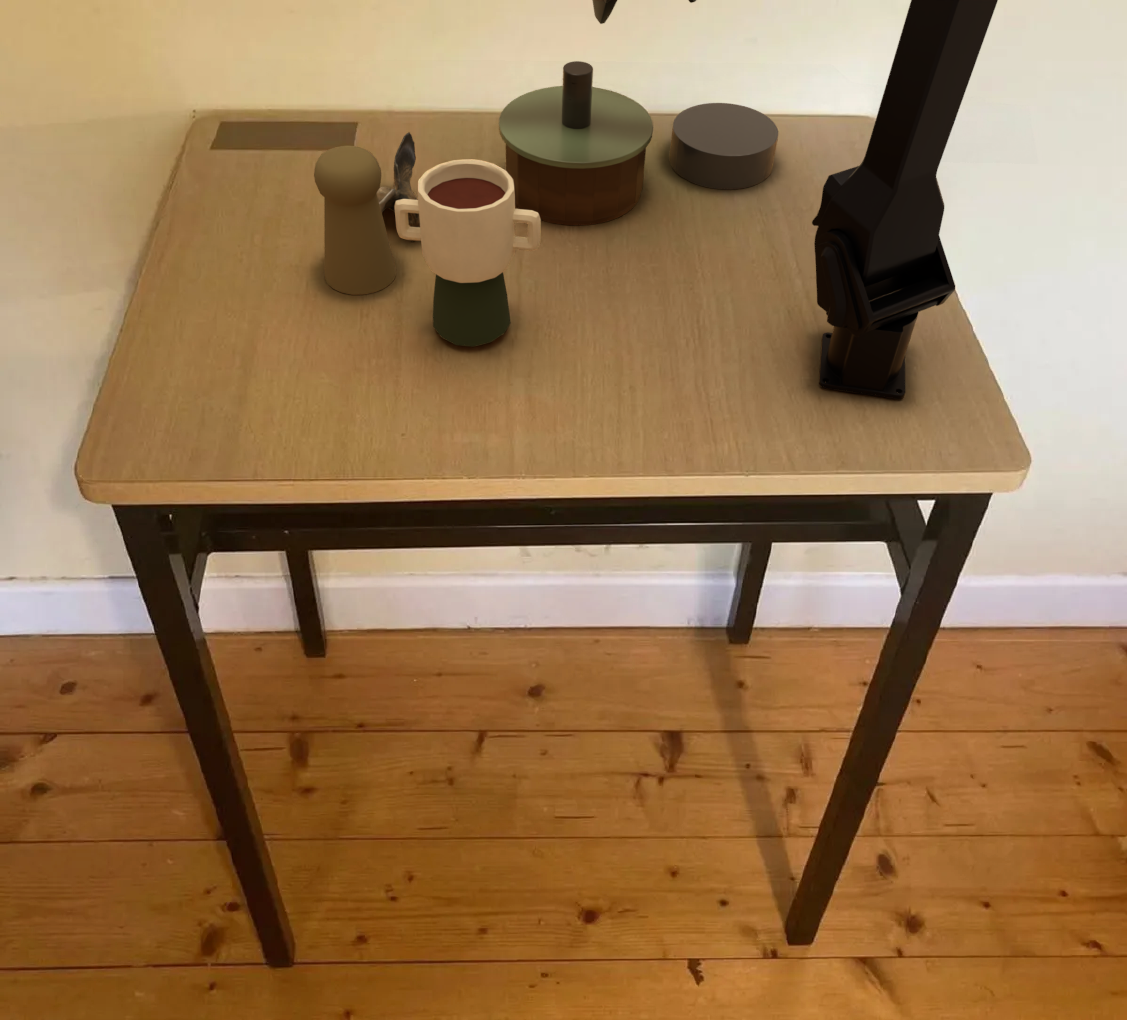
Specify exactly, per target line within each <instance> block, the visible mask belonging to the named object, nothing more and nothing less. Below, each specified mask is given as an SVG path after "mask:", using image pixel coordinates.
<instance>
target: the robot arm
mask: <svg viewBox="0 0 1127 1020" xmlns="http://www.w3.org/2000/svg"><path fill="white" fill-rule="evenodd" d="M998 1H999V0H910V4H909V6H908V10H907V13H906V16H905V19H904V24H903V26H902V30H901V33H900V36H899V39H898V43H897V46H896V50H895V54H894V57H893V60H892V64H891V67H890V70H889V74H888V77H887V79H886V84H885V87H884V91H883V94H882V97H881V100H880V104H879V106H878V111H877V115H876V118H875V121H874V124H873V128H872V130H871V134H870V138H869V141H868V144H867V148H866V151H865V155H864V157H863V159H862V161H861V162H860V164H859V165H857V166H854V167H851V168H850V167H849V168H848V169H845V170H842V171H838V172H835V173H832V174H830V175H828V177H827V179H826V181H824V185H823V186H822V193H821V201H820V206H819V210H818V211H817V214H816V216H814V218H813V219H812V221H811V225H813V226H814V227H817V229H816V232H815V236H814V242H813V243H814V256H815V257H814V259H815V260H814V261H815V282H816V283H815V284H816V285H815V286H816V303H817V305H818V307H820V308H821V309H822V310H823V311H824V312H825V314H826V317H827V318H826V323H828V324H829V325H830V326H831V327H833V329H832V332H824V333H822V337H821V340H820V341H821V345H820V357H819V358H820V359H819V371H818V386H819V387H821V388H823V389H826V390H827V389H828V390H834V391H841V392H848V393H854V394H861V395H866V396H874V397H880V398H888V399H892V400H893V399H894V400H902V399H904V398H905V395H906V353H907V350H908V347H909V344H910V341H911V338H912V335H913V331H914V329H915V325H916V322H917V319H918V316H919V312H922V311H925V310H927V309H929V308H932V307H935V306H936V307H939V306H941V305H943V304H945V302H946V301H947V300H948V299H949V298H950V296H951V295H953V293H954V292H955V290H956V284H955V280H954V277H953V274H952V271H951V268H950V264H949V261H948V259H947V256H946V253H945V250H944V246H943V243H942V240H941V237H940V232H941V227H942V222H943V218H944V212H945V202H944V199H943V196H942V192H941V188H940V185H939V181H938V177H937V173H938V169H939V167H940V164H941V161H942V158H943V155H944V152H945V150H946V147H947V144H948V142H949V139H950V135H951V133H952V130H953V127H954V124H955V121H956V120H957V117H958V113H959V111H960V108H961V105H962V103H963V99H964V96H965V93H966V90H967V88H968V85H969V81H970V79H971V77H972V74H973V71H974V68H975V66H976V63H977V60H978V57H979V54H980V51H981V49H982V46H983V44H984V40H985V38H986V35H987V31H988V29H989V27H990V24H991V21H992V18H993V15H994V13H995V10H996V7H997V4H998ZM617 2H618V0H592V6H593V13H594V18H595V19H596V20H597V21H598V23H599V24H600V25H603V24H605V23H606V22H607V20H608V19H609V17H610V16H611V14H612V12H613V10H614V9H615V6H616V4H617ZM688 2H689V3H690V4H692V3H695V2H697V0H688Z"/></svg>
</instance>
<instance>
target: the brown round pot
mask: <svg viewBox="0 0 1127 1020" xmlns="http://www.w3.org/2000/svg"><path fill="white" fill-rule="evenodd" d="M504 144H505V170H506V171H507V173H508V174H509V175H510V176H511V177H512V179H513V183H514V191H515V208H517V209H523V210H533V211H535V212H538V214H539V216H540V219H541V221H543V222H547V223H550V224H556V225H563V226H591V225H597V224H602V223H606V222H607V223H608V222H610V221H613V220H615V219H619V218H621V217H622V216H624V215H625V214H627V213H629V212H630V211H632V209H633V208H634V207H635V206H636V205H637V203H638V202H639V200H640V198H641V194H642V191H643V187H644V176H645V175H644V174H645V165H646V153H647V147H646V148H645V149H644V150H643V151H642V152H640V153H639V154H638V155H636V156H634V157H632V158H630V159H629V160H626V161H623V162H621V163H617V164H614V165H610V166H605V167H598V168H584V169H577V168H562V167H555V166H550V165H546V164H542V163H538V162H535V161H532V160H530V159H528V158H525V157H523V156H521V155H520V154H518V153H516V152H515V151H513V150H512V149H511V148H510V147H509V146H508V145H507V144H506V143H505V142H504Z"/></svg>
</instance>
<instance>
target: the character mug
mask: <svg viewBox="0 0 1127 1020" xmlns="http://www.w3.org/2000/svg"><path fill="white" fill-rule="evenodd" d="M417 199H418V200H412V199H401V200H397V201H396V202H395V206H394V207H395V212H394V215H395V218H394V219H395V227H396V232H397V234H398V237H399V238H401V239H404V240H407V241H410V240H414V241H419V242H420V243H421V244H420V245H421V254H422V258H423V259H424V262H425V264H426V265H427V266H428V268H429V270H430V271H431V272H432V273H433V274H434V275H435V278H434V279H435V280H434V289H433V291H434V292H433V297H432V298H433V302H432V327H433V328H434V329H435V331H436V332H437V334H438V335H439V336H440V338H442V339H443V340H446V341H447V342H449V343H451V344H453V345H455V346H463V347H472V348H473V347H478V346H482V345H486V344H489V343H492V342H494V341H495V340H496V339H498V338H499V337H501V336H503V335H504V334H505V333H506V331H507V329H509V327H510V325H511V323H512V321H511V315H510V306H509V298H508V291H507V287H506V281H505V276H504V275H505V274H504V272H505V271H507V270H508V267H509V266H510V263H511V262H512V260H513V257H514V256H515V254H516V250H517V251H528V252H533V251H536V250H539V248H540V246H541V229H542V227H541V225H542V223H541V222H542V220H541V219H540V216H539V214H538V212H535V211H533V210H523V209H519V208H516V206H515V191H514V183H513V179H512V177H511V176H510V175H509V174H508V173H507V171H506V169H505V168H502V167H500V166H499V165H496V163H493V162H489V161H485V160H481V159H474V158H473V159H471V158H463V159H454V160H453V159H452V160H449V161H446V162H441V163H439V164H438V163H437V164H436V165H434V166H433V167H431V168H429V169H428V170H426V171H425V172H424V173H423V174H422V175H421V177H420V178H419V179H418V180H417ZM408 213H418V214H419V218H420V227H410V225H409V222H408ZM517 223H518V224H527V236H518V235H516V224H517Z"/></svg>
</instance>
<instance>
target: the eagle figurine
mask: <svg viewBox="0 0 1127 1020" xmlns="http://www.w3.org/2000/svg"><path fill="white" fill-rule="evenodd" d="M413 139H414V138H413V136H412V134H411V132H410V131H408V132H407V133H405V134H404V135H403V137H402V140H401V142H400V143H399V146H398V148H397V150H396V152H395V156H394V161H393V186H392V187H389V186H380V188H379V190H378V191H377V197H378V201H379V205H380V208H381V212H382V213H383V212H384V211H385V210H386V209H389V210H390V211H393V212H394V213H395V207H394V206H395V202H396V201H397V200H401V199H412V200H418V196H417V195H416V194H415V193H414V192H413V190H412V185H411V179H412V178H413V170H414V167H415V164H416V158H417V157H416V147H415V141H414V140H413ZM408 222H409V226H410V227H420V218H419V214H418V213H408ZM409 241H410V242H411V243H413V242H414V241H415V240H409Z"/></svg>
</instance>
